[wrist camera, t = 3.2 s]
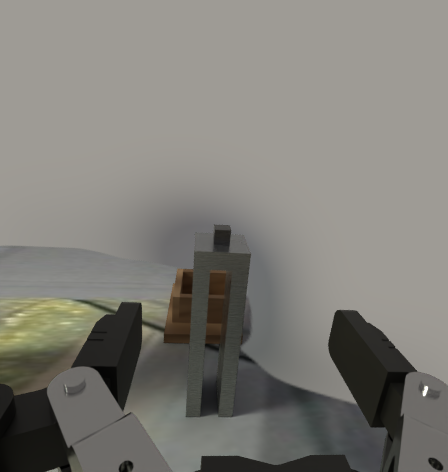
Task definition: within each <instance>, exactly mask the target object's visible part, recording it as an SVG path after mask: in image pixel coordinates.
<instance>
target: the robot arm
mask: <svg viewBox="0 0 448 472" xmlns="http://www.w3.org/2000/svg"><path fill="white" fill-rule="evenodd" d="M141 343H142V305H141V303H134V302H122V303H121V304H120V306H119V308H118V310H117V313H116V315H108V314H106V315H105V316H104V317H102V318H101V319H100V320H99V321H97V322H96V324H95V326H94V327H93V329H92V331H91V333H90V335H89V336H88V338H87V341H86V342H85V344H84V345H83V347H82V349H81V351H80V353H79V354H78V356H77V358H76V360H75V362H74V363H73V365H72V367H71V369H68V370H66V371H63V372H62V373H60V374H58V375H57V376H56V377H55V378H54V379H53V380H52V381H51V382H50V384H49V385H48V387H47V388H45V389H42V390H38V391H34V392H30V393H25V394H21V395H16V396H14V394H13V390H12V389H11V387H9V386H7V385H5V384H0V472H46V471H49V470H52V469H55V468H57V469H58V472H172V470H171V469H170V467H169V466H168V464H167V463H166V461H165V460H164V458H163V456H162V455H161V453H160V452H159V450H158V449H157V447H156V446H155V444H154V443H153V441H152V440H151V438H150V437H149V435H148V433H147V432H146V430H145V429H144V427H143V426H142V424H141V423H140V421H139V420H138V418H137V417H136V416H135V415H134V414H133V413H129V414H127V415H125V414H124V413H123V410H124V407H125V403H126V400H127V396H128V393H129V389H130V386H131V382H132V379H133V375H134V372H135V368H136V365H137V361H138V357H139V354H140V350H141ZM328 346H329V353H330V356H331V358H332V360H333V362H334V363H335V365H336V367H337V368H338V370H339V372H340V373H341V376H342V377H343V379H344V381H345V383H346V384H347V386H348V388H349V390H350V391H351V393H352V395H353V397H354V399H355V400H356V402H357V404H358V406H359V407H360V409H361V411H362V413H363V414H364V416H365V418H366V420H367V421H368V423H369V425H370V427H385V428H386V430H387V431H388V432H387V435H386V438H385V443H384V449H383V455H382V461H381V467H380V472H448V386H447V385H446V384H445V383H444V382H442V381H440V380H439V379H437V378H435V377H433V376H431V375H428V374H425V373H421V372H417V370H415V368H414V367H413V366H412V365H411V364H410V363H409V362H408V360H407V359H406V358H405V357H404V356H403V355H402V354H401V353H400V352H399V350H398V349H396V348H395V346H394V345H393V344H392V343H391V341H389V339H388V338H387V337H386V336H385V335H384V334H383V332H382V331H380V330H379V329H377V328H376V327H375V326H373V325H371V324H370V323H367V322H366V321H365V320H364V319H363V317H362V316H361V315H360V314H359V313H358V312H357V311H354V310H337V311H336V312H335V315H334V320H333V324H332V328H331V333H330V337H329V343H328ZM195 472H358V471H356V470H353V469H351V468H350V466H349V464H348V462H347V459H346V457H345V455H310V456H306V457H303V458H300V459H297V460H294V461H290V462H287V463H284V464H281V465H272V464H268V463H264V462H260V461H256V460H252V459H248V458H244V457H240V456H202V458H201V470H198V471H195Z"/></svg>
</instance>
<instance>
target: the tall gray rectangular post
mask: <svg viewBox="0 0 448 472" xmlns="http://www.w3.org/2000/svg"><path fill="white" fill-rule="evenodd" d="M250 258H251V253H250V250H249V247H248V245H247V242H246V240H245V237H244V235H231V229H230V226H228V225H214V234H212V233H195V250H194V268H193V288H192V308H191V328H190V347H189V367H188V387H187V407H186V417H200V409H201V395H202V381H203V366H204V352H205V338H206V324H207V310H208V295H209V281H210V270H222V271H226V279H225V290H224V301H223V312H222V324H221V335H220V346H219V357H218V368H217V380H216V383H217V401H218V417H232V414H233V405H234V396H235V388H236V379H237V370H238V362H239V353H240V344H241V336H242V327H243V318H244V310H245V301H246V292H247V284H248V274H249V266H250Z"/></svg>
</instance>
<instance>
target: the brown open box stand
mask: <svg viewBox="0 0 448 472" xmlns="http://www.w3.org/2000/svg"><path fill="white" fill-rule="evenodd" d="M225 279H226V271H220V270H210V281H209V295H208V310H207V324H206V338H205V344H220V335H221V324H222V312H223V301H224V290H225ZM192 288H193V269H177V275H176V281H175V283H173V288H172V293H171V299H170V304H169V309H168V315H167V320H166V326H165V331H164V343H190V328H191V308H192ZM242 337H243V335H242V336H241V344H242Z"/></svg>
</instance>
